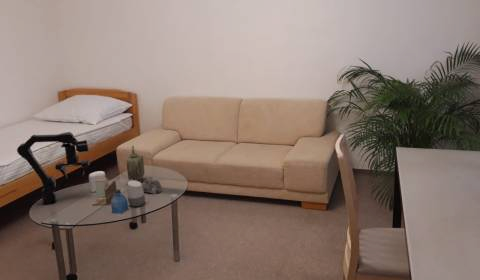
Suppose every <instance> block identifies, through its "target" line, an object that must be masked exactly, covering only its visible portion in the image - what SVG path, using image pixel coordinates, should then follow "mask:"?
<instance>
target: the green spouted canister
mask: <svg viewBox="0 0 480 280" xmlns="http://www.w3.org/2000/svg"><path fill="white" fill-rule="evenodd" d="M131 152H132V153H131ZM131 152H130V154H129V155H128V156H127V158H126V163H125V164H126V173H127V178H128V180H129V181H132V180H134V181H136V180H142V178H143V177H144V176H145V163H144V157H143V156H142V155H140V154H139V155H138V153H136V152H135V146H134V145H132V146H131Z"/></svg>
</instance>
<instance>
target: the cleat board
mask: <svg viewBox="0 0 480 280" xmlns="http://www.w3.org/2000/svg"><path fill="white" fill-rule="evenodd" d="M116 182H117V181H116V180H112V181H111V182H110V183H108V186H107V187H106V188H105V189H104V191H105V198H100V199H99V201H98V199H96V200H95V201H94V202H93V203H92V204H91V205H92V206H110V205H111V200H112V198H113V197H114V196H116V195H115V190H117V184H116Z"/></svg>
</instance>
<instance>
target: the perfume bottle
mask: <svg viewBox="0 0 480 280" xmlns="http://www.w3.org/2000/svg"><path fill="white" fill-rule="evenodd" d="M115 195H116V196H114V197H113V198H112V200H111V203H110V206H111V213H115V214H123V213H125V212H126V211H127V210H129V202H128V197H126V196H125V195H123V194H122V192H121V189H118V188H117V189H116V190H115Z"/></svg>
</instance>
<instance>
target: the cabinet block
mask: <svg viewBox="0 0 480 280" xmlns="http://www.w3.org/2000/svg"><path fill="white" fill-rule="evenodd" d="M95 185H96V191H95V192H96V198H97V199H98V201H99V199H100V198H105V191H104V189H105V188H106V187H107V186H108V185H109V179H108V177H106V178H98V179H97V180H96V181H95ZM97 199H96V200H97Z"/></svg>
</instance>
